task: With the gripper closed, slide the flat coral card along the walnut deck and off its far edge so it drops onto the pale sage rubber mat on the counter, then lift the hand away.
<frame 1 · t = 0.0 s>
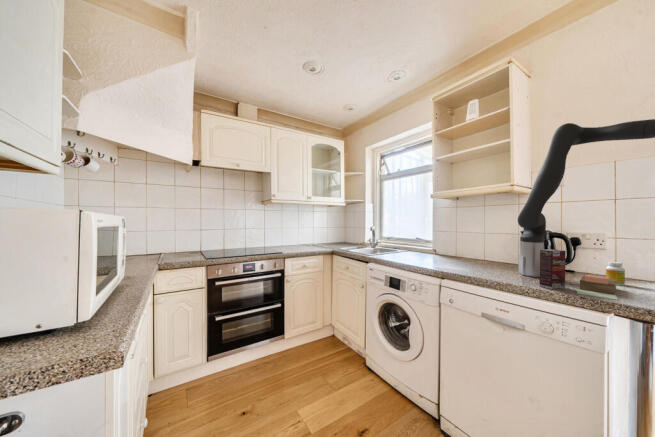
mat: (596, 294, 90), on the worktop
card: (597, 281, 94), point 4 cm above the worktop, touching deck
supplement box: (552, 287, 100), on the worktop
supplement bottle: (615, 284, 106), on the worktop
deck: (598, 289, 97), on the worktop
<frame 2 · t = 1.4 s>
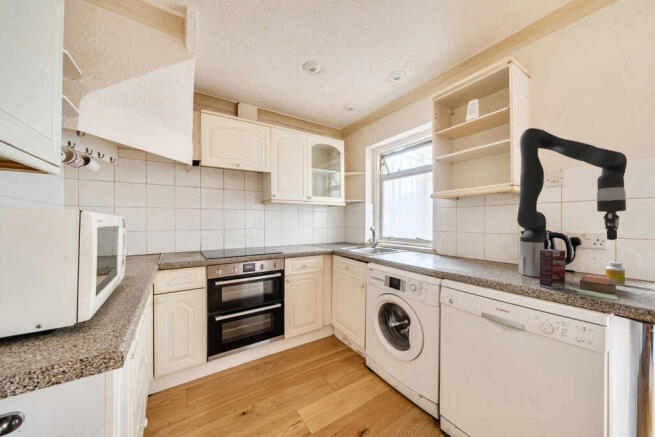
hand: (612, 239, 95), 21 cm above the worktop, tool pointing down, fingers open, 8 cm apart
nothing on the worktop moved.
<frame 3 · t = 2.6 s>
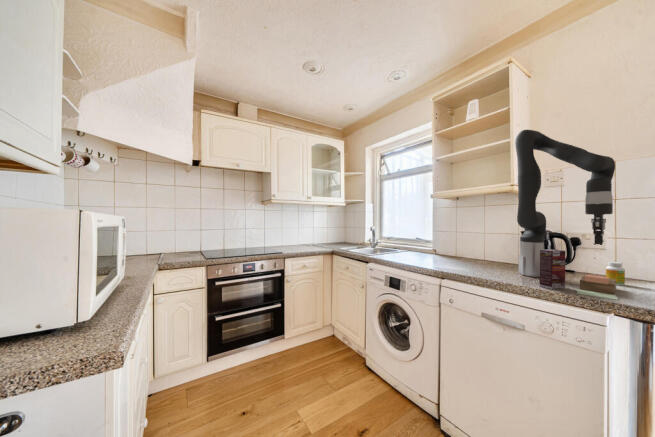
hand: (598, 244, 99), 19 cm above the worktop, tool pointing down, fingers closed
nothing on the worktop moved.
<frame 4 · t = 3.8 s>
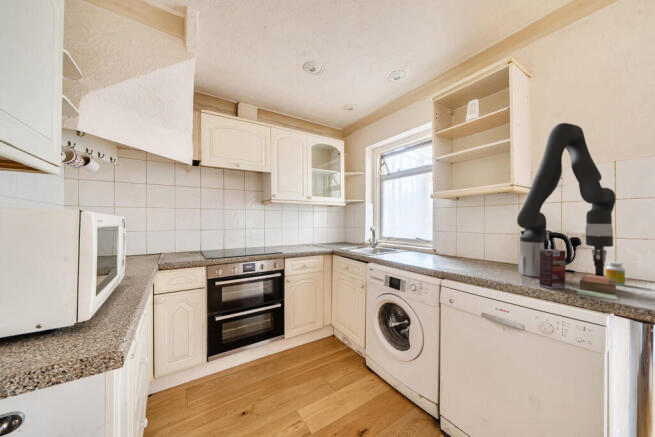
hand: (599, 275, 98), 5 cm above the worktop, tool pointing down, fingers closed
nothing on the worktop moved.
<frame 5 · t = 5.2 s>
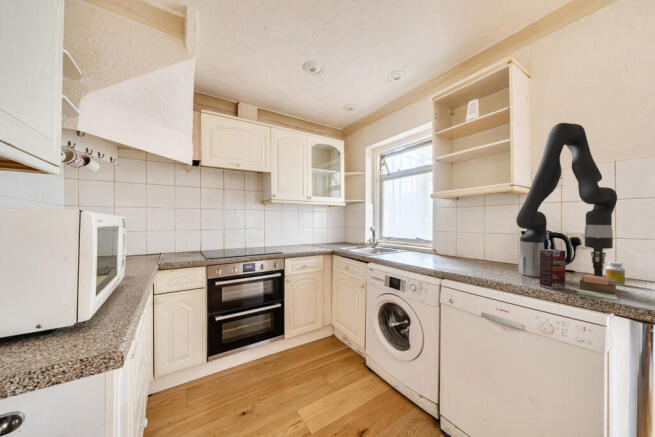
hand: (598, 278, 96), 5 cm above the worktop, tool pointing down, fingers closed
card: (596, 282, 93), point 4 cm above the worktop, touching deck, gripper
everything else where it was.
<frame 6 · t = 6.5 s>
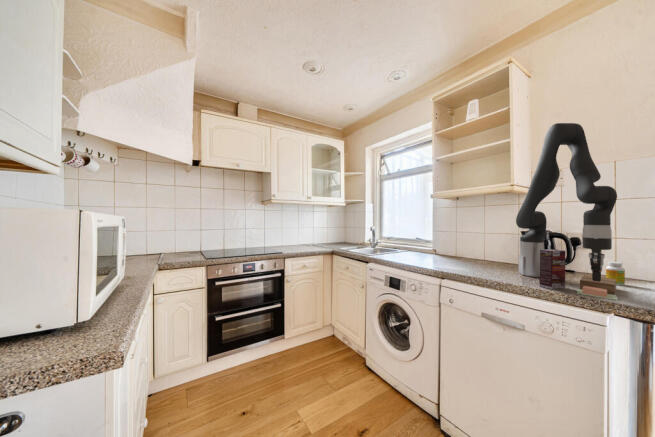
hand: (596, 280, 92), 5 cm above the worktop, tool pointing down, fingers closed
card: (594, 288, 90), point 2 cm above the worktop, tilted 180°, touching mat
everything else where it was.
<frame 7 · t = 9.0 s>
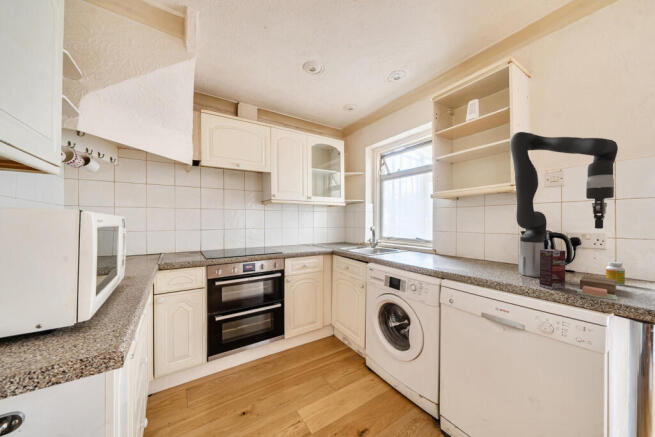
hand: (598, 228, 98), 25 cm above the worktop, tool pointing down, fingers closed
nothing on the worktop moved.
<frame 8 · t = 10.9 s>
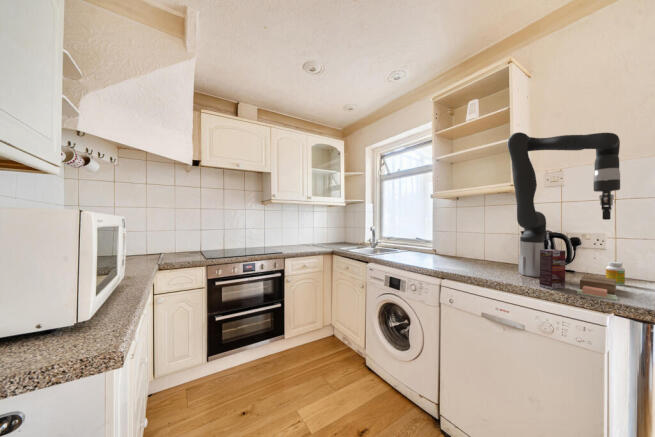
hand: (606, 219, 103), 29 cm above the worktop, tool pointing down, fingers closed
nothing on the worktop moved.
at the end: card point 2.3 cm above the worktop; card inside the target area on the mat (0.5 cm from its centre), point 2.3 cm above the mat's base; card moved 6.9 cm from its start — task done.
